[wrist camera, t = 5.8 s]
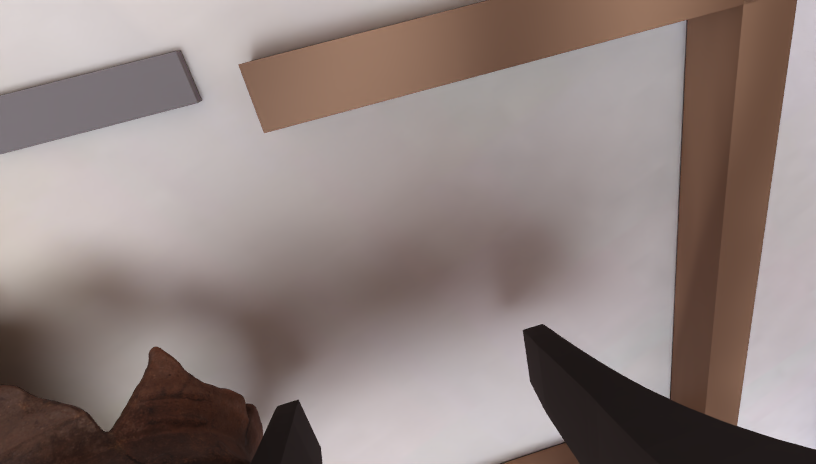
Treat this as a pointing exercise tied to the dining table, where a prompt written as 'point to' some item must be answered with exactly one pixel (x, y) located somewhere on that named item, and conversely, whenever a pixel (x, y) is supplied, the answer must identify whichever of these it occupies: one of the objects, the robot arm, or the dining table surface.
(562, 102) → the dining table surface
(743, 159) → the walnut holder
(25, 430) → the pottery mug
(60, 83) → the grey open frame
